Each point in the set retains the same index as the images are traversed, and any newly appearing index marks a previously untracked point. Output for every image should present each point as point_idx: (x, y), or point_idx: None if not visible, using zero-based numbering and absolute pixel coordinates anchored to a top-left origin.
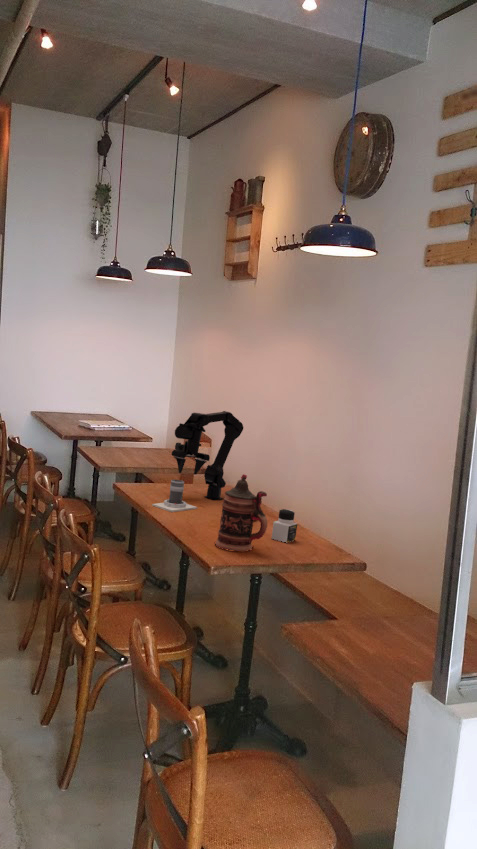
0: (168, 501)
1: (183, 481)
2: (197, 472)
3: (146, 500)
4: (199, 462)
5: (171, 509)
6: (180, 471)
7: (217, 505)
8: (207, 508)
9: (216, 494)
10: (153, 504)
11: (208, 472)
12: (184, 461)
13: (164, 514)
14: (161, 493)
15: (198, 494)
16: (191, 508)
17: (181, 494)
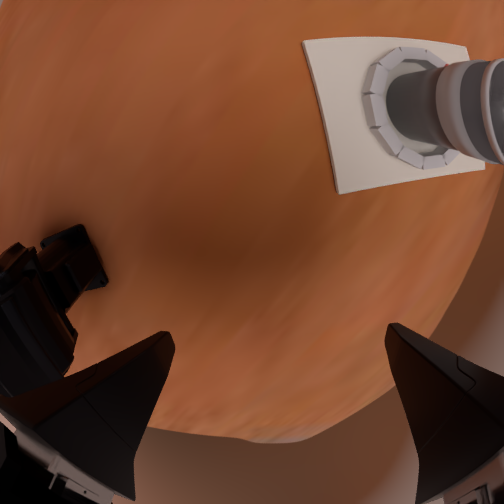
0: (432, 153)
1: (495, 77)
2: (143, 340)
3: (443, 257)
4: (91, 440)
5: (462, 58)
6: (410, 329)
7: (114, 110)
8: (222, 43)
9: (57, 245)
10: (484, 161)
11: (38, 355)
12: (499, 402)
13: (491, 43)
14: (290, 359)
15: (119, 328)
16: (349, 37)
17: (446, 66)
